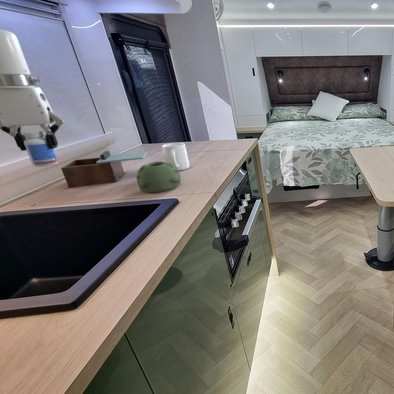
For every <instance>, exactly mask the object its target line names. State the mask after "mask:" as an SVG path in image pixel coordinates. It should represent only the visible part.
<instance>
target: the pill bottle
mask: <svg viewBox="0 0 394 394" xmlns="http://www.w3.org/2000/svg"><path fill="white" fill-rule="evenodd" d="M45 134H46V133H45V131H44V130H41V129H40V130H39V129H38V130H26V131H23V133H22V135H24V136H25V137H26V140H25V141H24V145H25V147H26V150H25V151H26V152H27V154H28V157H29V160H30V162H31V164H32V166H33V167H35V168H41V167H49V166H55V165H57V164H58V163H59V160H58V158H57V155H56V152H55V149H50V148H49V146H48V143H47V140H46V138H45Z"/></svg>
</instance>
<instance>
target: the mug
mask: <svg viewBox="0 0 394 394" xmlns="http://www.w3.org/2000/svg"><path fill="white" fill-rule="evenodd" d="M161 148H162V153H163V156H164V161H165V162H169V163H170V164H172V165H173V166H174V167H175V168H176V169H177V170H178V172H181V171H184V170H188V169H189V168H190V166H191V165H190V161H189V156H188V151H187V148H186V144H185V142H169V143H165V144H162V145H161Z"/></svg>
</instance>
